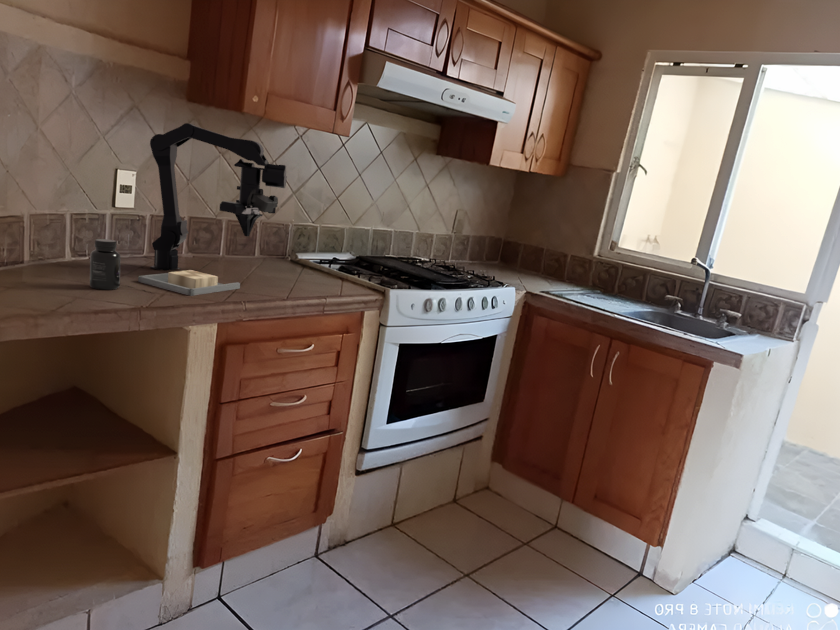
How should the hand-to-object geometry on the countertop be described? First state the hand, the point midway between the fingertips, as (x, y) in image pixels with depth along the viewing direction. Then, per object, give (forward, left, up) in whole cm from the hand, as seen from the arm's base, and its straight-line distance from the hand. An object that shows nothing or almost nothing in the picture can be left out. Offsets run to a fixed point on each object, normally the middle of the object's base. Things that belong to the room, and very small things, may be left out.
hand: (246, 236), depth 188 cm
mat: (+1, -23, -13) cm, 26 cm away
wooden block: (+2, -19, -11) cm, 22 cm away
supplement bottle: (-8, -42, -13) cm, 45 cm away
